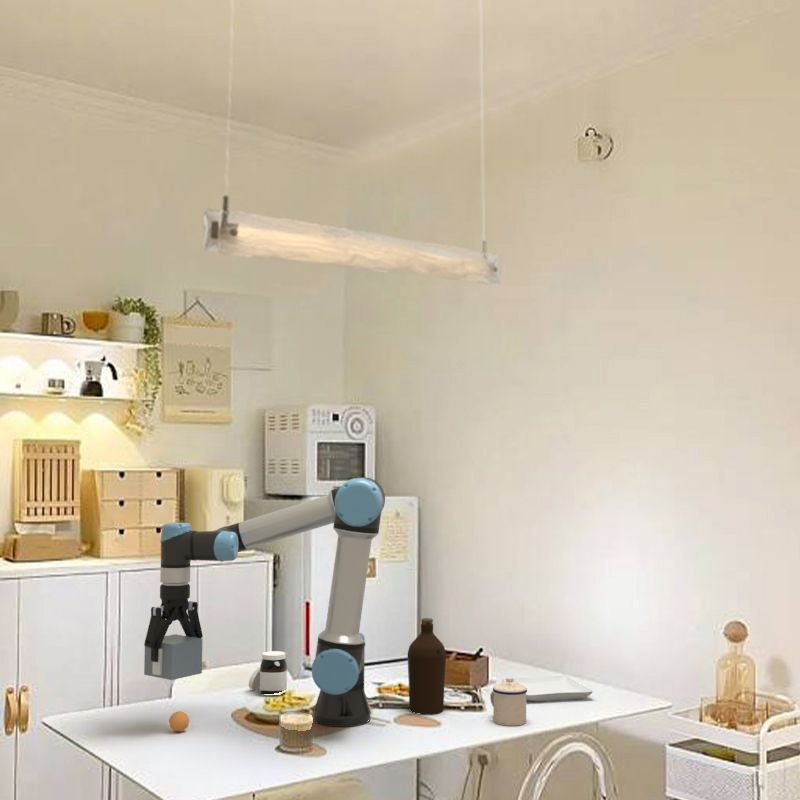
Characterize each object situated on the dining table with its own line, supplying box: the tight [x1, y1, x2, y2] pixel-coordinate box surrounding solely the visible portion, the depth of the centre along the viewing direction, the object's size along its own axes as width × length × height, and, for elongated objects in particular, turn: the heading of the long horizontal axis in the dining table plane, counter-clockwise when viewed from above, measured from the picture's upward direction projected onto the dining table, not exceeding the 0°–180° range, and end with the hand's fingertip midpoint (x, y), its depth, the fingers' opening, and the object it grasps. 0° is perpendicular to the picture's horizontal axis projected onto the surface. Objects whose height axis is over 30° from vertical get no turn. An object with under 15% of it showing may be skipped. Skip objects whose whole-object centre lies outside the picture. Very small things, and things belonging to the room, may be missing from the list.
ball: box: [168, 710, 190, 733], centre depth 270 cm, size 5×5×5 cm
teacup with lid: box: [489, 676, 527, 727], centre depth 283 cm, size 12×9×12 cm
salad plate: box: [501, 674, 594, 702], centre depth 314 cm, size 21×21×3 cm
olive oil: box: [407, 617, 447, 715], centre depth 294 cm, size 11×11×25 cm
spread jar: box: [248, 650, 288, 695], centre depth 313 cm, size 12×11×12 cm
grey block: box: [143, 633, 203, 681], centre depth 272 cm, size 10×10×9 cm
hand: (173, 670), depth 272 cm, fingers closed on grey block, 10 cm apart
